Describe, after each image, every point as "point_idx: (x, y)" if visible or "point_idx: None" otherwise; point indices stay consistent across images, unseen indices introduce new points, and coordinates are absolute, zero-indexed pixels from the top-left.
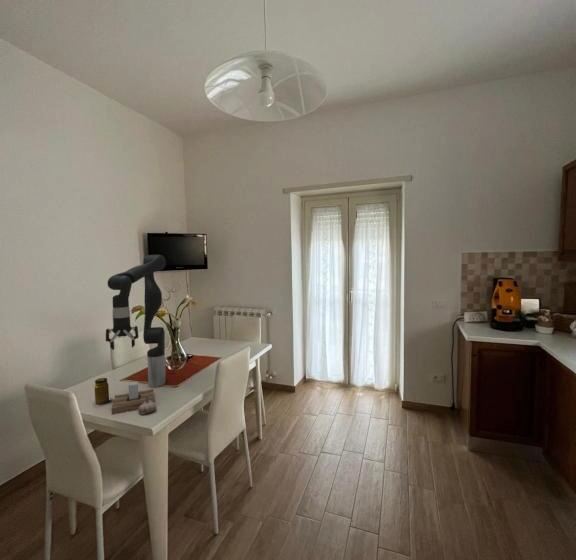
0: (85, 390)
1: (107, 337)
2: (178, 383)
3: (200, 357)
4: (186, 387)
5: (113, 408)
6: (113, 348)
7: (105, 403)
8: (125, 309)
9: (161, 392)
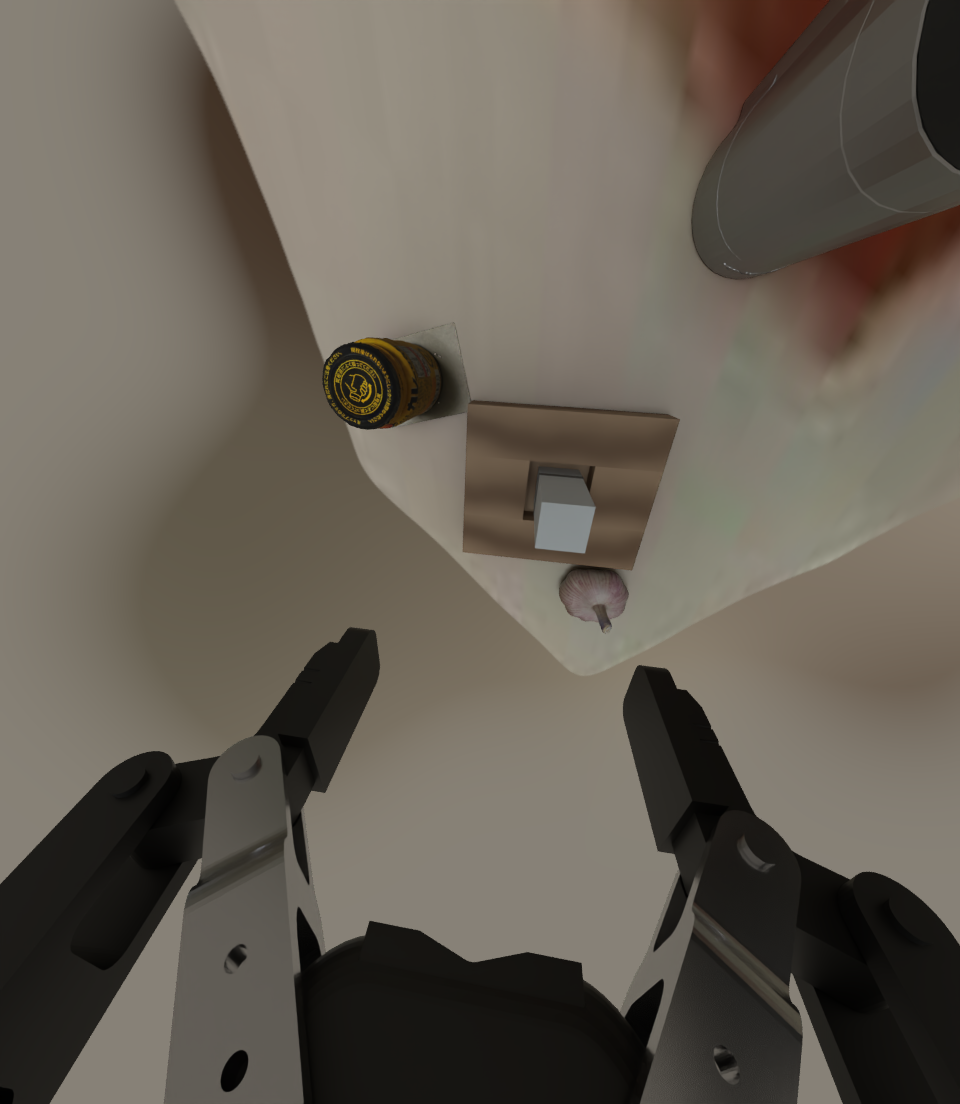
0: (242, 18)
1: (123, 934)
2: (899, 277)
3: None
4: (884, 399)
5: (470, 551)
6: (369, 691)
7: (429, 409)
8: None
9: (717, 402)
